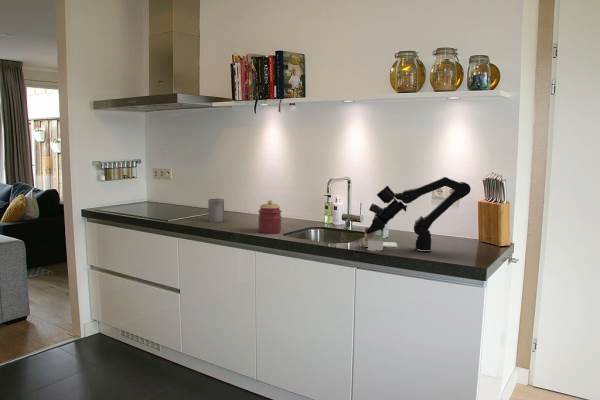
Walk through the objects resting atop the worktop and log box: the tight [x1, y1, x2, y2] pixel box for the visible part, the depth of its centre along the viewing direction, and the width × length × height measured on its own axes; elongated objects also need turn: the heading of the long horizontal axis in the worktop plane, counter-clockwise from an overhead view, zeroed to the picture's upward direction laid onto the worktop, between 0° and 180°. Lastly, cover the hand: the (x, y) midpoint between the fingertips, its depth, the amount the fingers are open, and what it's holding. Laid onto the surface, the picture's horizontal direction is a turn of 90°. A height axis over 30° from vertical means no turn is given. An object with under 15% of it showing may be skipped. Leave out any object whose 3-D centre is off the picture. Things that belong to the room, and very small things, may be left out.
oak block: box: [363, 227, 375, 247], centre depth 222 cm, size 5×5×9 cm
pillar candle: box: [207, 198, 225, 223], centre depth 289 cm, size 10×10×15 cm
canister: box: [257, 200, 282, 235], centre depth 257 cm, size 13×13×18 cm
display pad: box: [383, 241, 398, 248], centre depth 225 cm, size 9×9×1 cm
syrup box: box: [373, 213, 390, 239], centre depth 244 cm, size 6×6×14 cm
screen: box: [367, 238, 384, 251], centre depth 214 cm, size 7×2×6 cm, turn 82°
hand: (367, 232), depth 222 cm, fingers closed on oak block, 5 cm apart
